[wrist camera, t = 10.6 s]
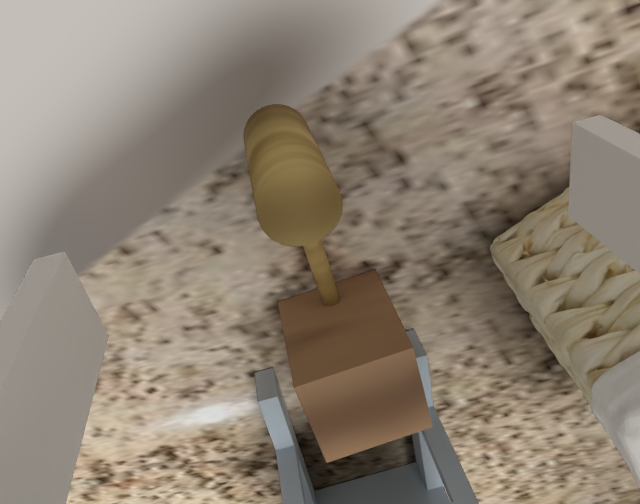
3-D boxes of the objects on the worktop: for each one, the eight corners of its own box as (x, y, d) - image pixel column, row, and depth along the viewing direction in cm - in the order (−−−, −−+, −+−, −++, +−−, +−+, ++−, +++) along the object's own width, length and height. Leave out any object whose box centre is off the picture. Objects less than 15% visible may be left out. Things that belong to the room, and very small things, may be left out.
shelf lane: (432, 467, 43) (488, 601, 34) (302, 504, 42) (326, 650, 34) (413, 329, 35) (479, 458, 27) (254, 372, 35) (270, 517, 26)
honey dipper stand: (395, 342, 36) (439, 442, 29) (306, 372, 36) (330, 478, 29) (325, 86, 26) (367, 143, 20) (206, 125, 26) (206, 197, 20)
